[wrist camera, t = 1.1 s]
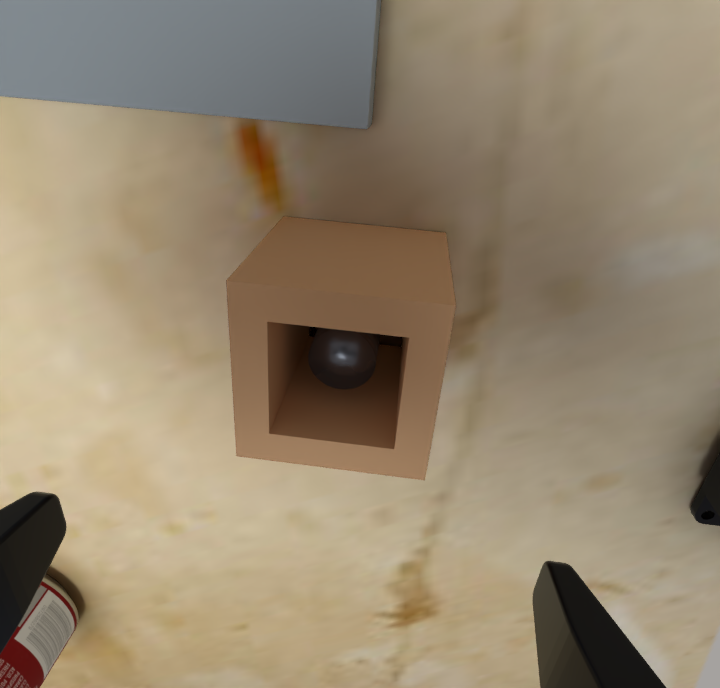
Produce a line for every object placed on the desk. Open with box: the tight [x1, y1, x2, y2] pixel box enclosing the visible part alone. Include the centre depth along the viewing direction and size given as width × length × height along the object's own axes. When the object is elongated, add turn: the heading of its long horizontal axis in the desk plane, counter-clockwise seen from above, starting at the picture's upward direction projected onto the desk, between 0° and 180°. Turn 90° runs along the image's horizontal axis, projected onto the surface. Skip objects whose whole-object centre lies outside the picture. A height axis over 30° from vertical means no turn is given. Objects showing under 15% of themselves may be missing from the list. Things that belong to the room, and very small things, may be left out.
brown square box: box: [226, 216, 456, 480], centre depth 16 cm, size 6×6×6 cm
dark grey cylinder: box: [308, 327, 380, 389], centre depth 17 cm, size 2×2×4 cm
